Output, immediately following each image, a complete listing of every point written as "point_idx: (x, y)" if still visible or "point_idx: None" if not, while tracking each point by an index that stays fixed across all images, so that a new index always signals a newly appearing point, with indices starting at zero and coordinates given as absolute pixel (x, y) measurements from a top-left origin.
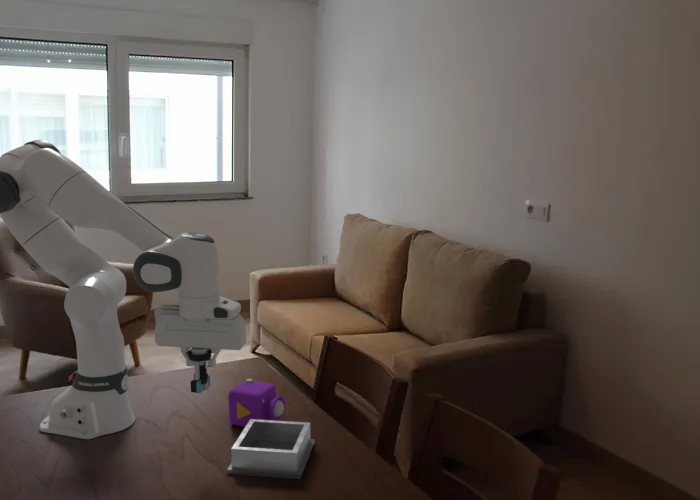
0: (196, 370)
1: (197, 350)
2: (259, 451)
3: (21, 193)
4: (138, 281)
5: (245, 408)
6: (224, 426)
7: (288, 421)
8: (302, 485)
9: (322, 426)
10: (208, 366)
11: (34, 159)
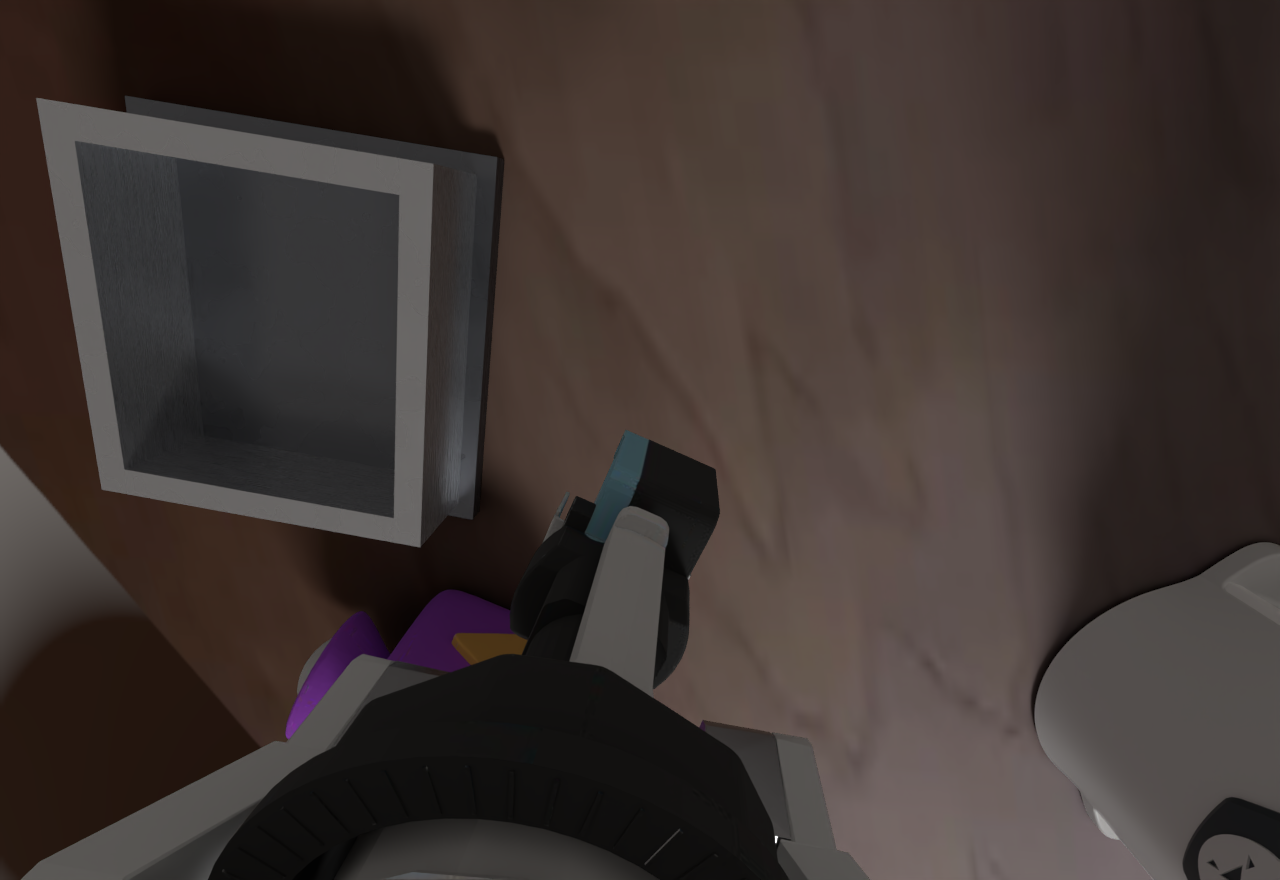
0: (623, 593)
1: None
2: (263, 136)
3: None
4: None
5: (473, 662)
6: None
7: (216, 509)
8: (116, 33)
9: (197, 605)
10: (439, 673)
11: None
